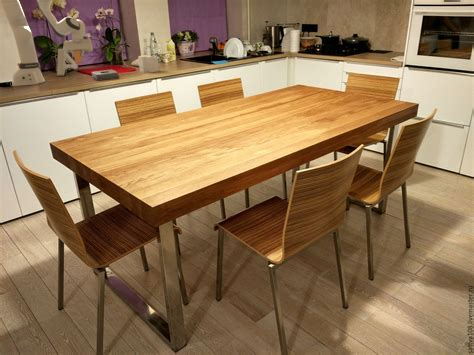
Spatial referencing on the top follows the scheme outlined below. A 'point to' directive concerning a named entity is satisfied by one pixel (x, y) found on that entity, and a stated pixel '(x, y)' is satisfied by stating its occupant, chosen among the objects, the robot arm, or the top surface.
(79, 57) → the square block
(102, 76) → the square hole plate
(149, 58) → the corner bracket
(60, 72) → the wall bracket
